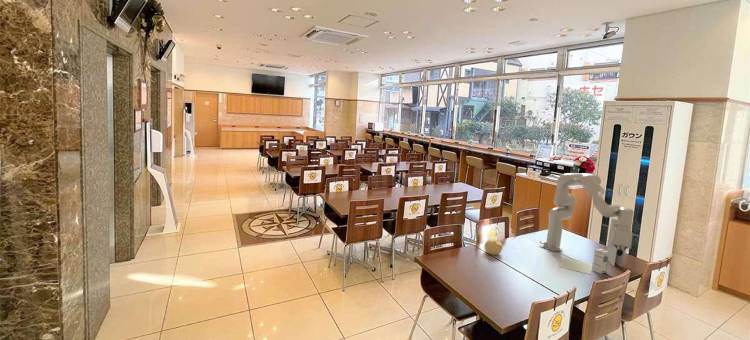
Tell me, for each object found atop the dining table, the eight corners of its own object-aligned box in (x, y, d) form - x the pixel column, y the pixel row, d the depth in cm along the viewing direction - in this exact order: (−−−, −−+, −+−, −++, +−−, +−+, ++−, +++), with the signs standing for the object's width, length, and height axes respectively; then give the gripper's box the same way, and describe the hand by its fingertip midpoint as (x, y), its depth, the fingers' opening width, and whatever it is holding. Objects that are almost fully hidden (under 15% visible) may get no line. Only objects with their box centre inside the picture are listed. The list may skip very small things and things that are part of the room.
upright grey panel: (622, 267, 243) (630, 224, 238) (613, 266, 244) (621, 223, 239) (613, 259, 257) (620, 218, 252) (605, 258, 258) (611, 218, 253)
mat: (559, 266, 238) (559, 266, 238) (563, 257, 254) (563, 257, 254) (590, 274, 228) (590, 274, 228) (592, 264, 245) (592, 264, 245)
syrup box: (600, 273, 230) (604, 252, 228) (591, 270, 236) (595, 249, 233) (606, 272, 233) (609, 251, 231) (596, 268, 238) (600, 248, 236)
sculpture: (503, 257, 249) (504, 242, 247) (485, 255, 250) (486, 240, 249) (500, 251, 260) (501, 237, 258) (483, 249, 262) (484, 235, 260)
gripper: (609, 226, 225) (605, 254, 228) (638, 231, 217) (633, 260, 220) (609, 223, 231) (605, 251, 234) (638, 228, 223) (633, 256, 226)
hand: (619, 255), depth 227 cm, fingers closed
